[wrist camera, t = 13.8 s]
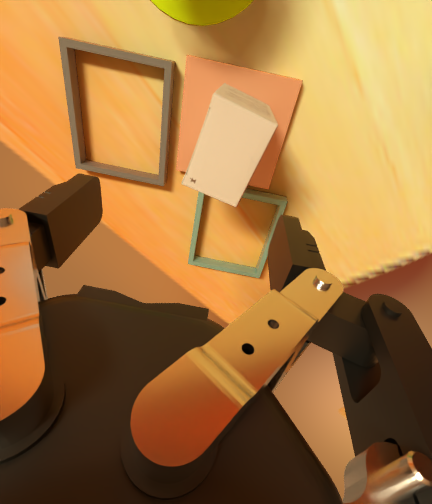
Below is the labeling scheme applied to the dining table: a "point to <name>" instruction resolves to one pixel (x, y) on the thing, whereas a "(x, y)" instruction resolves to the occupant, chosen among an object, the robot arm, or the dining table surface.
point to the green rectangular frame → (256, 272)
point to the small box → (230, 145)
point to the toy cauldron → (202, 10)
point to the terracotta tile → (248, 81)
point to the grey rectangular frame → (76, 118)
